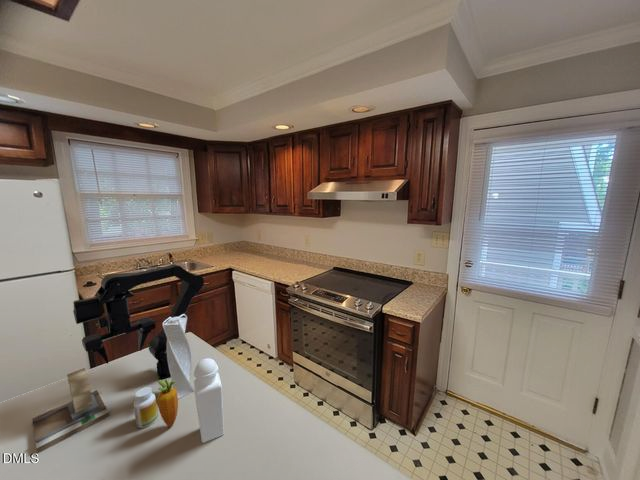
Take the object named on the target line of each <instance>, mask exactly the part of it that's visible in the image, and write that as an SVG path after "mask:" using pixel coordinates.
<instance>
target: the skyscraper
mask: <svg viewBox="0 0 640 480" xmlns="http://www.w3.org/2000/svg"><path fill="white" fill-rule="evenodd" d="M181 316H185V317H183V318H180V317H181ZM168 319H169V320H168ZM167 320H168V321H167ZM187 321H188V316H187V315H186V313H185V314H182V315H180V316H179V317H173V318H172V317H169V316H168V317H167V318H166V319H165V320H164V321H163V322H162V329H163V328H164V331H165V334H166V337H167V361H168V367H169V371H170V375H171V377H170V379H171V381H172V380H174V383H173V385H172V388H174V389H175V390H176V391H177V397H178V400H179V399H181V398H182V397H185V396H187V395H188V394H190V393H193V392H195V388H194V386H192V385H191V381H190V376H191V370H192V351H191V346H190V345H191V344H190V342H189V339H188V336H187V335H186V328H187Z"/></svg>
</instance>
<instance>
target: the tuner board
mask: <svg viewBox="0 0 640 480" xmlns="http://www.w3.org/2000/svg"><path fill="white" fill-rule="evenodd" d="M91 394H93V395H94V397H95V399H96V401H97V404H98V406H99V409H97V410H95V411H93V412H91V413H89V416H90V419H88V420H86V417H85V416H83V417H81V418H79V419H77V420H75V421H72V418H71V415H70V412H69V409H68V405H69V404H71V403H72V400H71V401H68V402H67V403H65V404H62V405H60V406H58V407H55V408H53V409H51V410H48V411H47V412H44V413H41V414H39V415H37V416H35V417H33V418H32V419H31V421H32V425H33V427H32V428H33V434H34V442H35V446H36V447H35V448H36V451H37V454H39V453H41V452H43V451H46V450H47V449H49V448H51V447H53V446H55V445H56V444H59V443H61V442H63V441H65V440H66V439H68V438H71V437H72V436H74V435H76V434H78V433H80V432H82V431H84V430H86V429H88V428H89V427H92V426H94V425H95V424H97V423H99V422H101V421H104V420H106V419H107V418H109V417H110V414H109V410H108V408H107V406H106V405H105V403H104V401H103V399H102V397H101V396H100V393H99V391H98V390H97V389H96V390H94V391H92V392H91Z"/></svg>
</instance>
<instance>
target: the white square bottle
mask: <svg viewBox="0 0 640 480" xmlns="http://www.w3.org/2000/svg"><path fill="white" fill-rule="evenodd" d="M194 369H195V370H194V372H193V376H194V378H195V379H194V380H193V385H194V386H193V388H194V396H195V404H196V410H197V417H198V425H199V431H200V439H201V443H202V444H204V443H207V442H209V441H212V440H214V439H216V438H219V437H221V436H224V435H225V429H224V428H225V425H224V408H223V406H224V405H223V404H224V403H223V402H224V401H223V387H222V385H223V384H222V382H221V376H220V373H219V372H218V371H219V366H218V364H217V362H216V361H215V360H214V359H213V358H209V357H207V358H203V359H201V360H200V361H198V363H197V364H196V366H195V368H194Z"/></svg>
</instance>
